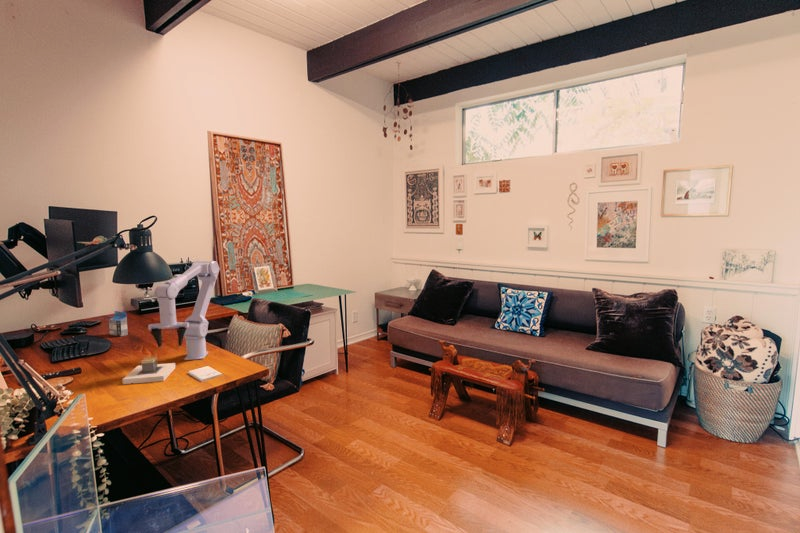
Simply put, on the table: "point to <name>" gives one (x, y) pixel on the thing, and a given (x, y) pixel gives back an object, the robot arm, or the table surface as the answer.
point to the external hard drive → (204, 373)
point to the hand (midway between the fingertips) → (170, 345)
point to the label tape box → (118, 324)
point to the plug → (149, 364)
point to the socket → (149, 374)
